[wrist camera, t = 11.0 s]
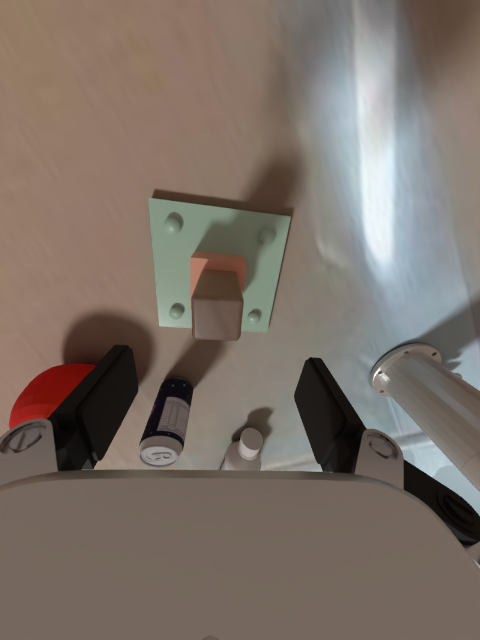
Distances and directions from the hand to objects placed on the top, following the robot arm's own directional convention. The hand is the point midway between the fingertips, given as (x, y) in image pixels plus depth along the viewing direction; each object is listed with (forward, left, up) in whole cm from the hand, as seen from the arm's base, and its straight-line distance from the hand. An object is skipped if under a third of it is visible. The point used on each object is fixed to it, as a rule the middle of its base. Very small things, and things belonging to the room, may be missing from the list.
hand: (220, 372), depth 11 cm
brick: (+1, 0, -17) cm, 17 cm away
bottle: (-6, +46, -19) cm, 50 cm away
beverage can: (+7, +21, -19) cm, 29 cm away
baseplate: (+1, 0, -18) cm, 18 cm away
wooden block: (0, 0, -14) cm, 14 cm away
